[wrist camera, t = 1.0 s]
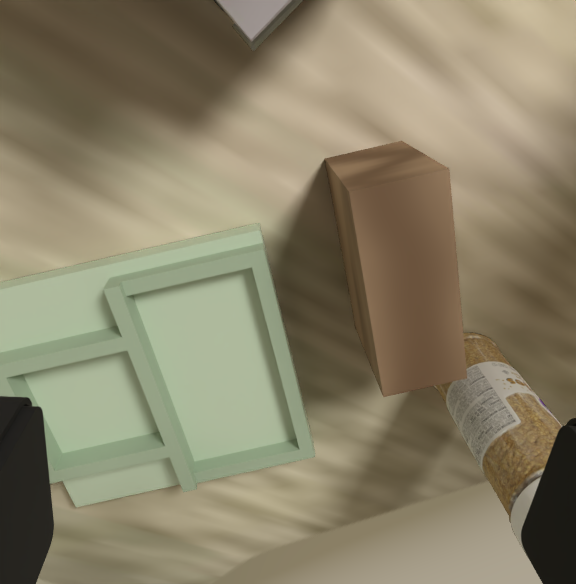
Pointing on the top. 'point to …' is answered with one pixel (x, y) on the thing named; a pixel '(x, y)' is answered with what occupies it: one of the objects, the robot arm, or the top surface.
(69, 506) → the top surface
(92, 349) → the jig
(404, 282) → the brown cuboid brick
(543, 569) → the robot arm
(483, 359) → the sprinkles bottle
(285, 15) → the toy vehicle
